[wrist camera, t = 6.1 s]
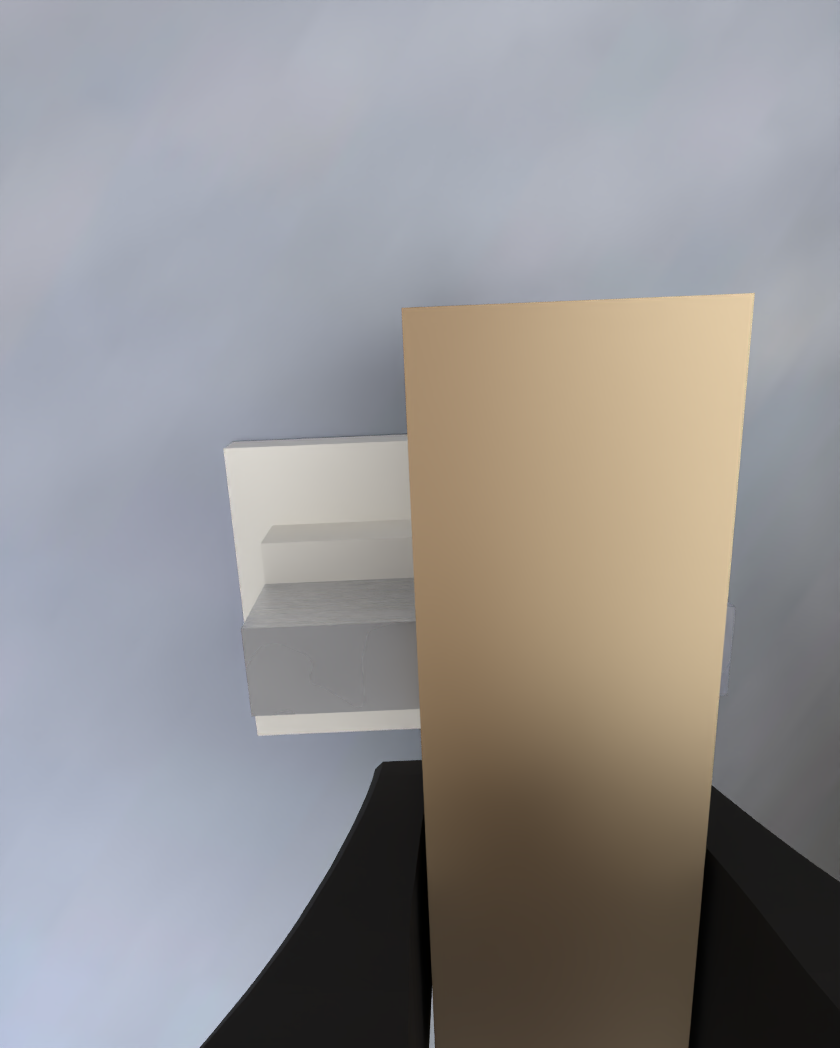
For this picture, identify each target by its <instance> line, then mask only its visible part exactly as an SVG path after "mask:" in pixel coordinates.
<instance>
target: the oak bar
mask: <svg viewBox="0 0 840 1048" xmlns="http://www.w3.org/2000/svg"><path fill="white" fill-rule="evenodd" d="M754 294H755V293H748V294H724V295H700V296H676V297H652V298H628V299H604V300H580V301H556V302H532V303H508V304H484V305H460V306H436V307H412V308H402V328H403V350H404V372H405V394H406V416H407V438H408V460H409V482H410V504H411V526H412V549H413V571H414V593H415V615H416V637H417V659H418V681H419V703H420V725H421V747H422V769H423V792H424V814H425V836H426V858H427V880H428V902H429V924H430V946H431V968H432V990H433V1012H434V1034H435V1048H688V1046H689V1035H690V1024H691V1012H692V1001H693V989H694V978H695V967H696V955H697V944H698V932H699V921H700V910H701V898H702V887H703V875H704V864H705V853H706V841H707V830H708V819H709V807H710V796H711V784H712V773H713V762H714V750H715V739H716V727H717V716H718V705H719V693H720V682H721V670H722V659H723V648H724V636H725V625H726V613H727V602H728V591H729V579H730V568H731V557H732V545H733V534H734V522H735V511H736V500H737V488H738V477H739V465H740V454H741V443H742V431H743V420H744V408H745V397H746V386H747V374H748V363H749V351H750V340H751V329H752V317H753V306H754Z"/></svg>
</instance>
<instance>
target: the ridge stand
mask: <svg viewBox="0 0 840 1048" xmlns="http://www.w3.org/2000/svg"><path fill="white" fill-rule="evenodd" d="M224 457H225V466H226V474H227V482H228V491H229V499H230V508H231V516H232V524H233V533H234V541H235V550H236V558H237V566H238V575H239V583H240V592H241V600H242V609H243V617H244V624H243V626H242V628H241V632H242V641H243V649H244V657H245V665H246V674H247V682H248V690H249V699H250V707H251V715H252V716H255V718H256V726H257V735H258V736H263V735H286V734H309V733H331V732H354V731H377V730H399V729H421V725H420V703H419V681H418V659H417V637H416V615H415V593H414V571H413V549H412V526H411V504H410V482H409V460H408V438H407V434H402V435H379V436H355V437H332V438H308V439H284V440H261V441H237V442H232V443H231V444H229V445H228V446H226V447H225V448H224ZM734 617H735V607H734V606H733V605H732V604H731V603H730V602H729V601H728V602H727V613H726V625H725V636H724V648H723V659H722V670H721V682H720V693H719V696H725V695H727V693H728V682H729V671H730V661H731V650H732V639H733V628H734Z"/></svg>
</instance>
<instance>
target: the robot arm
mask: <svg viewBox="0 0 840 1048" xmlns="http://www.w3.org/2000/svg"><path fill="white" fill-rule="evenodd" d="M431 998H432V968H431V946H430V924H429V902H428V880H427V858H426V836H425V814H424V792H423V769H422V760H413V761H391V762H382V763H381V764H380V765H379V766H378V767H377V768H376V769H375V773H374V776H373V779H372V782H371V785H370V788H369V790H368V793H367V795H366V798H365V800H364V802H363V805H362V807H361V809H360V811H359V813H358V815H357V817H356V820H355V822H354V824H353V826H352V828H351V830H350V832H349V834H348V835H347V837H346V839H345V841H344V843H343V845H342V847H341V849H340V851H339V852H338V854H337V856H336V858H335V860H334V862H333V864H332V865H331V867H330V869H329V871H328V872H327V874H326V876H325V877H324V879H323V881H322V882H321V884H320V885H319V887H318V889H317V890H316V892H315V894H314V895H313V897H312V898H311V900H310V902H309V903H308V905H307V906H306V908H305V910H304V911H303V913H302V914H301V916H300V918H299V919H298V921H297V922H296V924H295V925H294V927H293V928H292V930H291V931H290V933H289V934H288V936H287V937H286V938H285V940H284V941H283V943H282V944H281V946H280V947H279V948H278V950H277V951H276V953H275V954H274V955H273V957H272V958H271V960H270V961H269V962H268V964H267V965H266V966H265V968H264V969H263V970H262V972H261V973H260V974H259V976H258V977H257V978H256V980H255V981H254V982H253V984H252V985H251V986H250V987H249V989H248V990H247V991H246V992H245V994H244V995H243V996H242V997H241V999H240V1000H239V1001H238V1002H237V1003H236V1005H235V1006H234V1007H233V1008H232V1009H231V1011H230V1012H229V1013H228V1014H227V1016H226V1017H225V1018H224V1019H223V1020H222V1022H221V1023H220V1024H219V1025H218V1027H217V1028H216V1029H215V1030H214V1031H213V1033H212V1034H211V1035H210V1036H209V1037H208V1039H207V1040H206V1041H205V1042H204V1043H203V1044H202V1045H201V1047H200V1048H429V1038H430V1018H431ZM688 1048H840V882H839V881H837V880H836V879H835V878H833V877H832V876H830V875H829V874H827V873H826V872H824V871H823V870H822V869H820V868H819V867H817V866H816V865H814V864H813V863H812V862H810V861H809V860H808V859H806V858H805V857H804V856H802V855H801V854H799V853H798V852H797V851H795V850H794V849H793V848H791V847H790V846H789V845H787V844H786V843H785V842H783V841H782V840H781V839H779V838H778V837H777V836H775V835H774V834H773V833H771V832H770V831H769V830H767V829H766V828H765V827H764V826H762V825H761V824H760V823H758V822H757V821H756V820H755V819H753V818H752V817H751V816H749V815H748V814H747V813H746V812H744V811H743V810H742V809H741V808H739V807H738V806H737V805H736V804H734V803H733V802H732V801H731V800H729V799H728V798H727V797H726V796H724V795H723V794H722V793H721V792H719V791H718V790H717V789H716V788H714V787H713V786H712V785H711V796H710V807H709V819H708V830H707V841H706V853H705V864H704V875H703V887H702V898H701V910H700V921H699V932H698V944H697V955H696V967H695V978H694V989H693V1001H692V1012H691V1024H690V1035H689V1046H688Z"/></svg>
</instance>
